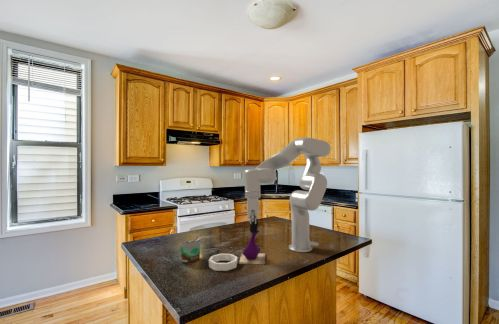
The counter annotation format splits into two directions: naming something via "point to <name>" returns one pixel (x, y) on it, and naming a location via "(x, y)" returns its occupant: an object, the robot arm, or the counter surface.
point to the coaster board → (259, 259)
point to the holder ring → (223, 266)
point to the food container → (190, 250)
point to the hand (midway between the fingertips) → (254, 229)
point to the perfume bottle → (251, 248)
